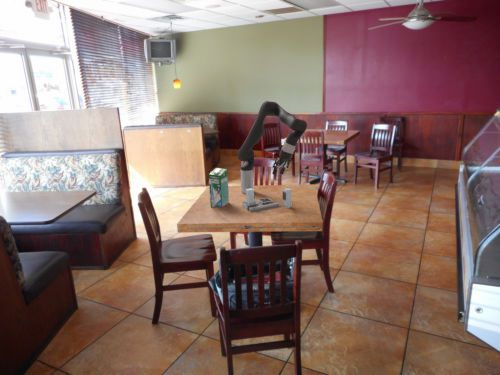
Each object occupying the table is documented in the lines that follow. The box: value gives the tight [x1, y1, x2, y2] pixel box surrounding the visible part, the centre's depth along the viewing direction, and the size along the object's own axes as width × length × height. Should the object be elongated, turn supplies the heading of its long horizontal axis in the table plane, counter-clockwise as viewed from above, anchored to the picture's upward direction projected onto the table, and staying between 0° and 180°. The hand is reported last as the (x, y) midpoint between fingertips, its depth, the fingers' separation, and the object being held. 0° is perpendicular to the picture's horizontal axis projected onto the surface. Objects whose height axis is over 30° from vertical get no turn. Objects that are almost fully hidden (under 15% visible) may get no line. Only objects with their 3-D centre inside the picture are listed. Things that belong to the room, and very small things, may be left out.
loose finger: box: [282, 187, 293, 209], centre depth 233 cm, size 4×5×12 cm
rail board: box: [240, 197, 282, 214], centre depth 233 cm, size 16×22×4 cm
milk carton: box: [208, 167, 230, 209], centre depth 237 cm, size 9×9×25 cm
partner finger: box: [245, 188, 256, 205], centre depth 231 cm, size 4×5×12 cm
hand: (277, 174), depth 222 cm, fingers open, 8 cm apart
